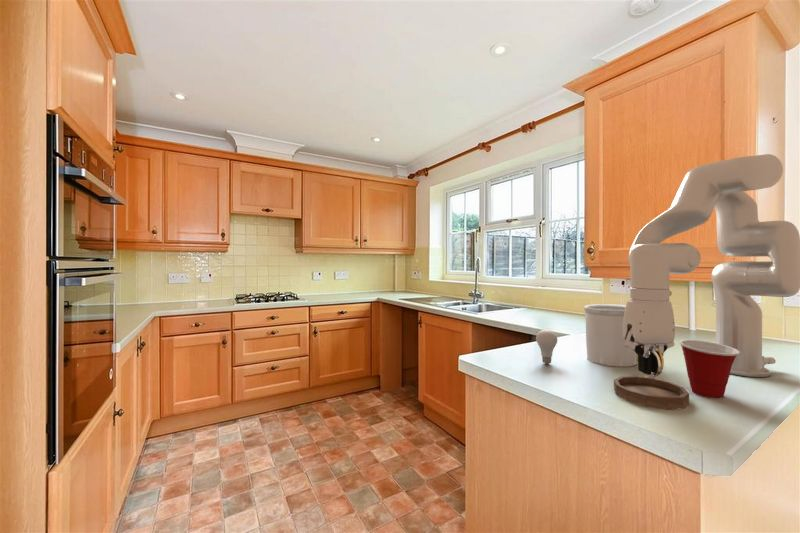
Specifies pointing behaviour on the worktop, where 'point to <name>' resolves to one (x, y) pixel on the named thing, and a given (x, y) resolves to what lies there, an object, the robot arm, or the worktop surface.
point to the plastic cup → (708, 366)
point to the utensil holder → (607, 336)
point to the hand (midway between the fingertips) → (649, 372)
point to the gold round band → (658, 358)
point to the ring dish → (651, 392)
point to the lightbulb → (546, 344)
